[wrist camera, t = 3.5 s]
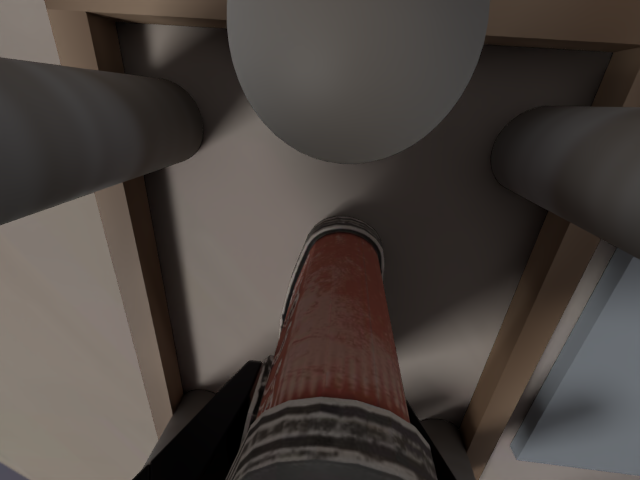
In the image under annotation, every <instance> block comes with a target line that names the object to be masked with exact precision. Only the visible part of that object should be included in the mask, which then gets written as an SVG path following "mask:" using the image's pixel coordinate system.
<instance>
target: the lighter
mask: <svg viewBox="0 0 640 480" xmlns="http://www.w3.org/2000/svg"><path fill="white" fill-rule="evenodd" d="M384 263H385V261H384V254H383V248H382V244H381V240H380V238H379V237H378V235H377V233H376V232H375V230H374V229H373V228H371V227H370V226H369V225H367V224H366V223H365V222H363V221H360V220H357V219H354V218H352V217H333V218H329V219H325V220H323V221H322V222H320V223H318V224H317V225H315V226H314V227H313V229H312V230H311V232H310V233H309V234H308V237H307V239H306V241H305V244H304V246H303V249H302V251H301V254H300V256H299V258H298V261H297V263H296V266H295V268H294V271H293V274H292V277H291V280H290V283H289V287H288V291H287V295H286V298H285V302H284V306H283V310H282V314H281V318H280V329H279V342H278V345H277V348H276V352H275V355H274V356H271V355H270V356H269V357H268V358H266V359H265V361H264V364H263V367H262V371H261V374H260V377H259V380H258V383H257V386H256V389H255V392H254V395H253V398H252V401H251V405H250V408H249V411H248V414H247V419H246V423H245V427H244V431H243V435H242V439H241V444H240V448H239V452H238V454H237V456H236V458H235V460H234V463H233V465H232V467H231V469H230V471H229V473H228V475H227V477H226V480H438V479H437V475H436V471H435V467H434V462H433V458H432V454H431V450H430V446H429V444H428V443H427V441H426V440H425V439H424V437H423V436H422V435H421V434H420V432H419V431H418V430H417V428H416V427H415V426H413V425H412V424H410V420H409V415H408V409H407V404H406V399H405V394H404V389H403V384H402V379H401V373H400V368H399V363H398V358H397V353H396V348H395V343H394V337H393V332H392V327H391V322H390V317H389V312H388V307H387V302H386V296H385V291H384V286H383V274H384Z"/></svg>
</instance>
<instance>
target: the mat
mask: <svg viewBox="0 0 640 480" xmlns="http://www.w3.org/2000/svg"><path fill="white" fill-rule="evenodd" d="M510 447H511V449H512V452H513V454H514V456H515V458H516V460H521V461H528V462H536V463H544V464H552V465H559V466H567V467H575V468H583V469H590V470H598V471H606V472H614V473H621V474H629V475H637V476H640V259H638V258H636V257H634V256H632V255H630V254H628V253H626V252H625V251H623V250H621V249H619V248H617V249H616V251H615V253H614V255H613V256H612V258H611V260H610V262H609V264H608V266H607V268H606V269H605V271H604V273H603V275H602V277H601V279H600V280H599V282H598V284H597V286H596V288H595V290H594V292H593V293H592V295H591V297H590V299H589V301H588V303H587V304H586V306H585V308H584V310H583V312H582V314H581V316H580V317H579V319H578V321H577V323H576V325H575V327H574V328H573V330H572V332H571V334H570V336H569V338H568V340H567V341H566V343H565V345H564V347H563V349H562V351H561V352H560V354H559V356H558V358H557V360H556V362H555V364H554V365H553V367H552V369H551V371H550V373H549V375H548V376H547V378H546V380H545V382H544V384H543V386H542V388H541V389H540V391H539V393H538V395H537V397H536V399H535V400H534V402H533V404H532V406H531V408H530V410H529V412H528V413H527V415H526V417H525V419H524V421H523V423H522V424H521V426H520V428H519V430H518V432H517V434H516V436H515V437H514V439H513V441H512V443H511V445H510Z"/></svg>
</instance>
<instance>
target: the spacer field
mask: <svg viewBox="0 0 640 480" xmlns="http://www.w3.org/2000/svg"><path fill="white" fill-rule="evenodd" d="M44 1H45V5H46V9H47V12H48V16H49V20H50V24H51V28H52V32H53V36H54V39H55V43H56V47H57V51H58V55H59V59H60V63H61V65H53V64H46V63H38V62H31V61H23V60H15V59H8V58H0V225H2V224H5V223H8V222H11V221H14V220H16V219H19V218H22V217H25V216H28V215H31V214H34V213H36V212H39V211H42V210H45V209H48V208H51V207H54V206H56V205H59V204H62V203H65V202H68V201H71V200H74V199H76V198H79V197H82V196H85V195H88V194H91V193H95V197H96V201H97V205H98V209H99V213H100V217H101V220H102V224H103V228H104V232H105V236H106V240H107V244H108V247H109V251H110V255H111V259H112V263H113V267H114V270H115V274H116V278H117V282H118V286H119V290H120V294H121V297H122V301H123V305H124V309H125V313H126V317H127V321H128V324H129V328H130V332H131V336H132V340H133V344H134V347H135V351H136V355H137V359H138V363H139V367H140V371H141V374H142V378H143V382H144V386H145V390H146V394H147V398H148V401H149V405H150V409H151V413H152V417H153V421H154V424H155V428H156V432H157V436H158V442H157V444H156V446H155V447H154V449H153V451H152V453H151V455H150V456H149V458H148V460H147V462H146V463H145V465H144V467H145V466H146V465H147V464H150V461H151V460H152V459H153V458H154V457H155V456H156V455H157V454H158V453H159V452H160V451H161V450H162V449H163V448H164V447H165V446H166V445H167V444H168V443H169V442H170V441H171V440H172V439H173V438H174V437H175V436H176V435H177V434H178V433H179V432H180V431H181V430H182V428H183V427H184V426H185V425H186V424H187V423H188V422H189V421H190V420H191V419H192V418H193V417H194V416H195V415H196V414H197V413H198V412H199V411H200V410H201V409H202V408H203V407H204V406H205V405H206V404H207V403H208V402H209V401H210V400H211V399H212V398H213V397H214V396H215V395H216V394H214V393H212V392H209V391H204V390H194V391H190V392H188V393H186V394H185V395H184V394H183V388H182V383H181V377H180V372H179V366H178V361H177V356H176V350H175V345H174V339H173V334H172V328H171V323H170V317H169V312H168V307H167V301H166V296H165V290H164V285H163V279H162V274H161V269H160V263H159V258H158V252H157V247H156V241H155V236H154V230H153V225H152V220H151V214H150V209H149V203H148V198H147V192H146V187H145V182H144V176H143V175H145V174H148V173H151V172H154V171H156V170H159V169H162V168H165V167H168V166H171V165H174V164H176V163H179V162H182V161H185V160H187V159H189V158H190V157H192V156H193V155H194V154H195V153H196V151H197V150H198V148H199V147H200V144H201V142H202V137H203V123H202V118H201V114H200V112H199V109H198V107H197V105H196V103H195V102H194V100H193V99H192V98H191V96H190V95H189V94H188V93H187V92H186V91H185V90H184V89H182V88H181V87H180V86H178V85H177V84H175V83H173V82H171V81H168V80H165V79H160V78H152V77H145V76H137V75H129V74H125V73H124V67H123V62H122V57H121V51H120V46H119V40H118V35H117V29H116V24H115V22H128V23H144V24H161V25H177V26H193V27H210V28H226V29H227V32H228V41H229V48H230V52H231V57H232V62H233V65H234V68H235V71H236V74H237V77H238V80H239V83H240V85H241V87H242V89H243V91H244V94H245V96H246V98H247V99H248V101H249V103H250V104H251V106H252V108H253V109H254V111H255V112H256V113H257V115H258V116H259V117H260V119H261V120H262V121H263V123H264V124H265V125H266V126H267V127H268V128H269V129H270V130H271V131H272V132H273V133H274V134H275V135H276V136H277V137H279V138H280V139H281V140H283V141H284V142H285V143H286V144H288V145H289V146H291V147H293V148H294V149H296V150H298V151H299V152H301V153H304V154H306V155H308V156H311V157H313V158H316V159H320V160H323V161H327V162H333V163H340V164H358V163H367V162H372V161H376V160H380V159H384V158H387V157H389V156H392V155H394V154H397V153H399V152H401V151H403V150H405V149H406V148H408V147H410V146H412V145H413V144H415V143H416V142H418V141H419V140H421V139H422V138H423V137H425V136H426V135H427V134H428V133H429V132H431V131H432V130H433V129H434V128H435V127H436V126H437V125H438V124H439V123H440V122H441V121H442V120H443V119H444V118H445V117H446V115H447V114H448V113H449V112H450V111H451V109H452V108H453V107H454V105H455V104H456V102H457V101H458V100H459V98H460V97H461V95H462V93H463V92H464V90H465V88H466V86H467V85H468V83H469V81H470V79H471V77H472V74H473V72H474V70H475V67H476V65H477V63H478V60H479V57H480V54H481V51H482V47H483V44H488V45H504V46H520V47H537V48H553V49H569V50H586V51H602V52H613V55H612V57H611V60H610V62H609V65H608V67H607V69H606V72H605V74H604V77H603V79H602V82H601V84H600V87H599V89H598V91H597V94H596V96H595V99H594V101H593V104H592V106H591V107H582V106H543V107H537V108H533V109H531V110H528V111H526V112H524V113H522V114H520V115H519V116H517V117H516V118H514V119H513V120H512V121H511V122H510V123H509V124H508V125H507V126H506V127H505V128H504V129H503V130H502V131H501V133H500V134H499V136H498V137H497V139H496V141H495V144H494V146H493V150H492V154H491V167H492V171H493V174H494V176H495V178H496V179H497V180H498V182H499V183H500V184H501V185H502V186H504V187H505V188H507V189H509V190H511V191H513V192H515V193H516V194H518V195H520V196H522V197H524V198H526V199H528V200H529V201H531V202H533V203H535V204H537V205H539V206H541V207H543V208H544V209H546V210H548V213H547V216H546V218H545V221H544V223H543V226H542V228H541V231H540V233H539V235H538V238H537V240H536V243H535V245H534V248H533V250H532V253H531V255H530V257H529V260H528V262H527V265H526V267H525V270H524V272H523V275H522V277H521V279H520V282H519V284H518V287H517V289H516V292H515V294H514V296H513V299H512V301H511V304H510V306H509V309H508V311H507V314H506V316H505V318H504V321H503V323H502V326H501V328H500V331H499V333H498V336H497V338H496V340H495V343H494V345H493V348H492V350H491V353H490V355H489V357H488V360H487V362H486V365H485V367H484V370H483V372H482V375H481V377H480V379H479V382H478V384H477V387H476V389H475V392H474V394H473V397H472V399H471V401H470V404H469V406H468V409H467V411H466V414H465V416H464V418H463V421H462V423H461V426H460V428H459V430H458V428H457V427H456V426H455V425H453V424H452V423H450V422H447V421H444V420H438V419H431V420H425V421H421V424H422V425H423V427H424V428H425V430H426V432H427V433H428V435H429V436H430V438H431V439H432V441H433V443H434V444H435V446H436V447H437V449H438V451H439V452H440V454H441V455H442V457H443V458H444V460H445V462H446V463H447V465H448V466H449V468H450V469H451V471H452V473H453V474H454V476H455V477H456V479H457V480H479V478H480V476H481V474H482V472H483V470H484V468H485V466H486V464H487V462H488V460H489V458H490V456H491V454H492V452H493V450H494V448H495V446H496V444H497V442H498V440H499V438H500V436H501V435H502V433H503V431H504V429H505V427H506V425H507V423H508V421H509V419H510V417H511V415H512V413H513V411H514V409H515V407H516V405H517V403H518V401H519V399H520V397H521V395H522V393H523V391H524V389H525V387H526V385H527V383H528V381H529V380H530V378H531V376H532V374H533V372H534V370H535V368H536V366H537V364H538V362H539V360H540V358H541V356H542V354H543V352H544V350H545V348H546V346H547V344H548V342H549V340H550V338H551V336H552V334H553V332H554V330H555V328H556V326H557V325H558V323H559V321H560V319H561V317H562V315H563V313H564V311H565V309H566V307H567V305H568V303H569V301H570V299H571V297H572V295H573V293H574V291H575V289H576V287H577V285H578V283H579V281H580V279H581V277H582V275H583V273H584V272H585V270H586V268H587V266H588V264H589V262H590V260H591V258H592V256H593V254H594V252H595V250H596V248H597V246H598V244H599V242H600V240H601V239H602V240H604V241H606V242H608V243H610V244H612V245H613V246H615V247H617V248H619V249H621V250H623V251H625V252H626V253H628V254H630V255H632V256H634V257H636V258H638V259H640V0H44ZM144 467H143V468H144Z"/></svg>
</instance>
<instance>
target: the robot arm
mask: <svg viewBox="0 0 640 480" xmlns="http://www.w3.org/2000/svg"><path fill="white" fill-rule="evenodd" d="M262 367H263V363H262V362H261V361H253V360H250V361H248V362H247V363H246V364H245V365H244V366H243V367H242V368H241V369H240V370H239V371H238V372H237V373H236V374H235V375H234V376H233V377H232V378H231V379H230V380H229V381H228V382H227V383H226V384H225V386H224V387H223V388H222V389H221V390H220V391H219V392H218V393H217V394H216V395H215V396H214V397H213V398H212V399H211V400H210V401H209V402H208V403H207V404H206V405H205V406H204V407H203V408H202V409H201V410H200V411H199V412H198V413H197V414H196V415H195V416H194V417H193V418H192V419H191V420H190V421H189V422H188V423H187V424H186V425H185V426H184V427H183V428H182V430H181V431H180V432H179V433H178V434H177V435H176V436H175V437H174V438H173V439H172V440H171V441H170V442H169V443H168V444H167V445H166V446H165V447H164V448H163V449H162V450H161V451H160V452H159V453H158V454H157V455H156V456H155V457H154V458H153V459H152V460H151V461H150V464H147V465H146V466H145V467H144V468H143V469H142V470H141V471H140V472H139V473H138V474H137V475H136V476H135V477H134V478H133V479H132V480H226V477H227V475H228V473H229V471H230V469H231V467H232V465H233V463H234V460H235V458H236V456H237V454H238V452H239V448H240V444H241V439H242V435H243V431H244V427H245V423H246V419H247V414H248V411H249V408H250V405H251V401H252V398H253V395H254V392H255V389H256V386H257V383H258V380H259V377H260V374H261V371H262ZM405 399H406V398H405ZM406 404H407V409H408V415H409V420H410V424H412V425H413V426H415V427H416V428H417V430H418V431H419V432H420V434H421V435H422V436H423V437H424V439H425V440H426V441H427V443H428V444H429V446H430V450H431V454H432V458H433V462H434V467H435V471H436V475H437V479H438V480H457V479H456V477H455V476H454V474H453V473H452V471H451V469H450V468H449V466H448V465H447V463H446V462H445V460H444V458H443V457H442V455H441V454H440V452H439V451H438V449H437V447H436V446H435V444H434V443H433V441H432V439H431V438H430V436H429V435H428V433H427V432H426V430H425V428H424V427H423V425H422V424H421V422H420V421H419V419H418V417H417V416H416V414H415V413H414V411H413V410H412V408H411V406H410V405H409V403H408V402H407V400H406Z"/></svg>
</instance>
